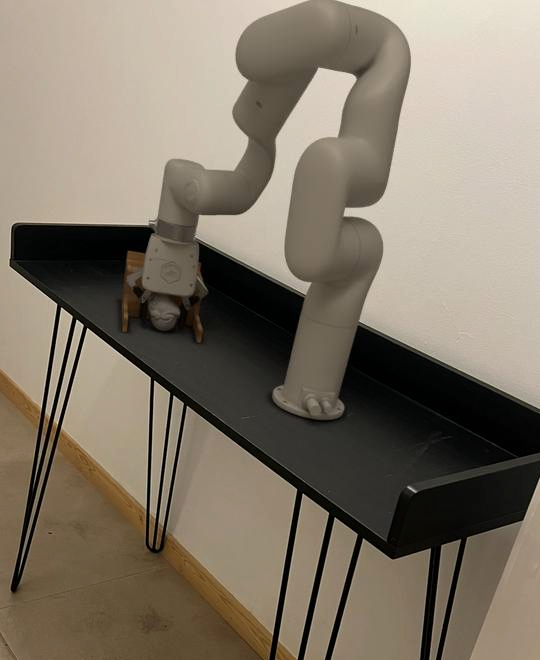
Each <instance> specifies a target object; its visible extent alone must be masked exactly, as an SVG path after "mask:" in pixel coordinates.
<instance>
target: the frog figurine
mask: <svg viewBox="0 0 540 660" xmlns="http://www.w3.org/2000/svg"><path fill="white" fill-rule="evenodd" d="M148 309H149V311H150V315H151V320H150V321H151V324H152V325H153V327H154V328H155V329H157V330H158V331H161V332H167V331H170V330H172V329H173V328H174V327H175V326H176V321H177V320H178V319H179V317H180V309H179V308H178V307H177V305H176V304H175V303H174V301H172V300H171V299H170V298H169V296H168V295H166V294H162V293H161V294H160V293H159V294H156V295H153V296H151V297H149V298H148Z"/></svg>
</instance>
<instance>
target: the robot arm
mask: <svg viewBox="0 0 540 660" xmlns="http://www.w3.org/2000/svg"><path fill="white" fill-rule="evenodd" d="M411 54H412V53H411V49H410V45H409V42H408V39H407V37H406V35H405V33H404V32H403V30H401V28H400V27H399V26H398V25H397V24H396V23H394V22H393V20H392V19H390V18H387V17H386V16H385V15H382V14H380V13H379V12H377V11H373V10H371V9H367V8H365V7H361V6H358V5H354V4H349V3H346V2H343V1H339V0H305V1H302V2H299V3H296V4H293V5H292V6H288V7H286V8H282V9H279V10H277V11H274V12H272V13H268V14H266V15H264V16H261V17H259V18H257V19H255V20H254V21H252V22H250V24H249V25H247V27H246V28H245V29H244V30H243V32H242V33H241V35H240V36H239V38H238V40H237V44H236V47H235V55H234V58H235V59H234V61H235V64H236V68H237V70H238V72H239V73H240V75H241V76H242V77H243V78H245V79H246V80H247V82H246V84H245V85H244V87H243V89H242V90H241V92H240V94H239V96H238V98H237V99H236V101H235V103H234V104H233V105H232V110H231V114H232V119H233V122H234V123H235V124H236V126H237V127H238V128H239V130H240V131H241V132H242V133H243V134H244V135H245V136H246V137H247V138H248V139H247V146H246V149H245V151H244V153H243V155H242V157H241V158H240V160H239V162H238V164H237V165H236V166H235V168H234V169H233V170H229V169H228V170H226V169H207V168H205V167H204V165H202V164H201V163H198V162H195V161H194V160H193V161H192V160H190V159H189V160H188V159H183V158H171V159H169V160H167V162H166V163H165V166H164V169H163V170H164V171H163V176H162V177H163V178H162V182H161V183H162V184H161V191H160V196H159V204H158V211H157V216H156V218H155V220H148V225H147V228H148V229H152V230H153V231H154V233H151V234H150V238H149V241H148V244H147V247H146V251H145V254H146V255H145V260H144V265H143V266H142V267H141V268H139V269H138V270H136V271H135V272H133V273H132V274H130V275H129V276H127V278H126V281H127V283H128V284H129V286H130V287H131V288H132V290H133V292H134V293H135V294H136V296H137V297H138V298H139V300H140V307H139V315H138V317H141V318H140V321H141V324H146V322H147V319H146V316H147V309H148V300H147V299H148V297H149V296H150V294H151V293H152V292H156V293H162V294H169V295H175V296H182V300H183V303H182V304H181V306H180V317H179V319H178V323H177V329H179V330H182V329H183V326H184V325H183V324H186V321H187V315H188V310H189V309H190V308H191V307H192V306H193V305H195V304H196V303H197V302H199V300H200V299H201V300H202V299H204V298H205V297H206V296H207V295H209V290H208V288H207V286H205V284H204V285H203V283H202V282H201V281H200V279H199V278H198V277H197V270H198V262H199V258H200V257H199V256H200V245H199V242H198V241H196V237H197V232H198V226H199V219H200V216H241V215H242V214H245V213H246V212H247V211H249V210H250V209H251V208H252V207H254V205H255V204H256V202H258V200H259V199H260V197H261V195H262V193H264V191H265V190H266V187H267V186H268V185H269V182H270V181H271V179H272V176H273V174H274V170H275V165H276V158H277V138H278V135H279V134H280V132H281V131H282V129H283V127H284V126H285V124H286V123H287V120H289V117H290V116H291V114H292V113H293V111H294V109H295V108H296V107H297V105H298V104H299V102H300V100H301V98H302V97H303V96H304V93H305V92H306V90H307V89H308V87H309V86H310V84H311V82H312V81H313V79H314V78H315V76H316V74H317V72H318V70H319V68H320V69H325V70H330V71H334V72H340V73H346V74H350V75H353V76H354V77H355V78H356V80H355V82H354V83H353V85H352V87H351V88H350V90H349V91H348V94H347V96H346V98H345V101H344V103H343V107H342V111H341V118H340V124H339V130H338V134H337V136H327V137H321V138H318V139H316V140H315V141H313V142H312V143H310V144H309V145H308V146H307V147H306V148H305V149H304V151H303V152H302V153H301V155H300V157H299V159H298V161H297V164H296V167H295V170H294V174H293V179H292V185H291V186H292V187H291V191H290V199H289V206H288V214H287V219H286V227H285V235H284V244H283V245H284V248H283V249H284V258H285V259H284V260H285V263H286V266H287V268H288V270H289V272H290V273H291V274H292V276H294V277H295V278H296V279H298V280H300V281H302V282H305V283H310V284H309V287H308V289H307V292H306V294H305V297H304V300H303V304H302V308H301V311H300V315H299V321H298V324H297V328H296V332H295V336H294V341H293V344H292V349H291V353H290V358H289V362H288V366H287V370H286V375H285V379H284V383H283V384H282V385H279V386H276V387H275V388H274V389H273V391H272V394H271V395H272V396H271V399H272V401H273V402H274V404H276V406H277V407H279V408H280V409H282V410H284V411H286V412H287V413H291V414H292V415H294V416H298V417H301V418H305V419H309V420H310V419H311V420H317V421H330V420H336V419H338V418H341V417H342V416H343V415H344V413H345V405H344V402H342V401H341V400H340V399H339V395H340V392H341V388H342V384H343V380H344V377H345V373H346V370H347V366H348V362H349V359H350V354H351V351H352V347H353V343H354V340H355V337H356V333H357V329H358V326H359V323H360V319H361V315H362V312H363V309H364V305H365V302H366V299H367V296H368V294H369V292H370V289H371V287H372V285H373V282H374V280H375V278H376V276H377V274H378V271H379V269H380V267H381V264H382V259H383V256H384V240H383V236H382V234H381V232H380V230H379V229H378V227H377V226H376V225H375V224H374V223H372V222H371V221H369V220H368V219H365V218H363V217H359V216H350V215H347V216H346V215H345V210H346V209H361V208H367V207H371V206H373V205H376V204H377V203H378V202H379V201H380V200H381V199H382V198H383V196H384V195H385V192H386V191H387V187H388V183H389V180H390V179H389V178H390V173H391V168H392V162H393V157H394V152H395V146H396V142H397V141H396V140H397V136H398V131H399V124H400V117H401V113H402V108H403V104H404V99H405V96H406V92H407V90H408V89H407V88H408V85H409V80H410V74H411V67H412V55H411ZM140 277H142V286H143V288H144V289H143V290H141V289H140V287H139V286H138V285H137V283H136V282H135V281H136V280H137V279H139V278H140ZM195 286H196V287H197V288H198V289H199V291H198V292H197V293H196V294H194V290H195ZM193 294H194V295H193ZM192 295H193V296H192ZM189 296H191V297H190V298H188V297H189Z"/></svg>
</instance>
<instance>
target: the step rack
mask: <svg viewBox="0 0 540 660" xmlns="http://www.w3.org/2000/svg"><path fill="white" fill-rule="evenodd" d="M145 255H146V252H145V253H144V252H138V251H132V250H127V253H126V260H125V269H124V276H123V284H122V292H121V298H120V299H121V300H120V301H121V324H122V325H121V329H122V332H123V333H127V332H128V325H129V324H128V323H129V317H130V318H137V319H141V317H138V315H139V307H140V300H139V298H138V297H137V296H136V294H135V293H134V292H133V290H132V288H131V287H130V286H129V284H128V283H127V281H126V278H127V276H129V275H130V274H132V273H133V272H135V271H136V270H138V269H139V268H141V267H142V266H143V265H144V260H145ZM201 267H202V263H201V262H199V261H198V270H197V277H198V278H199V279H200V281H201V282H202V283H203V285H204V286H205V283H204V279H203V277H202V273H201ZM135 282H136V283H137V285H138V286H139V287H140V289H141V290H143V289H144V288H143V286H142V277H140V278H139V279H137V280H136V281H135ZM198 291H199V289H198V288H197V287H196V286H195V290H194V294H196V293H197V292H198ZM156 294H159V293H156V292H152V293H151V294H150V296H149V297H151V296H153V295H156ZM160 294H161V293H160ZM194 294H193V295H194ZM166 295H168V296H169V298H170V299H171V300H172V301H174V303H175V304H176V305H177V307H178V308H179V309H180V306H181V304H182V303H183V300H182V296H175V295H169V294H166ZM193 295H192V296H193ZM149 297H148V298H149ZM190 297H191V296H189V297H188V298H190ZM147 300H148V299H147ZM201 302H202V299H200V300H199V302H197V303H196V304H195V305H193V306H192V307H191V308H190V309H189V310H188V315H187V321H186V324H183V326H191V327H192V330H193V332H194V337H195V341H196V343H198V344H201V343H202V337H203V332H204V330H203V327H202V323H201V320H200V316H199V315H200V314H199V313H200V308H201ZM146 320H150V321H151V315H150V311H149V309H147V316H146ZM177 323H178V320H177V321H176V324H177ZM176 324H175V325H176ZM177 325H178V324H177Z"/></svg>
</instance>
